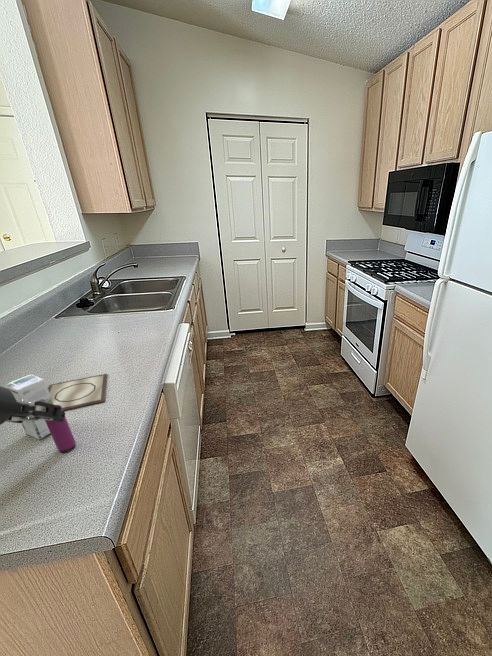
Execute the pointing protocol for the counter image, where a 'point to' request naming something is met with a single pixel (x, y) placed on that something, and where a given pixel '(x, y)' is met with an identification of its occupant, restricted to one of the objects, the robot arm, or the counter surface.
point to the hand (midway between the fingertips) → (42, 417)
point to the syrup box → (32, 391)
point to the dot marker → (61, 435)
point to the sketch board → (79, 392)
